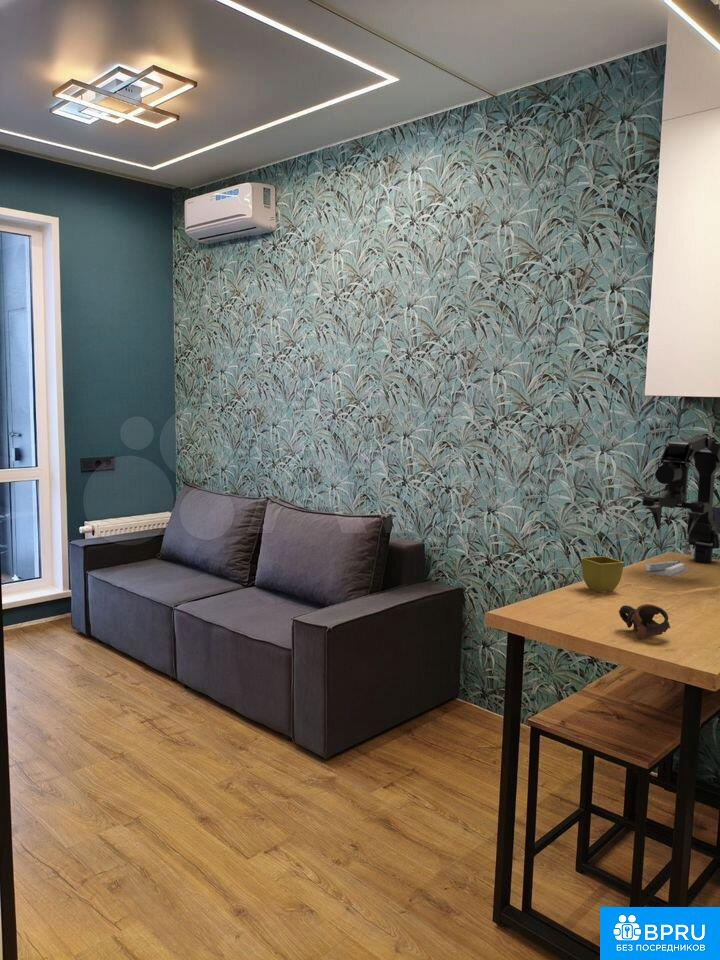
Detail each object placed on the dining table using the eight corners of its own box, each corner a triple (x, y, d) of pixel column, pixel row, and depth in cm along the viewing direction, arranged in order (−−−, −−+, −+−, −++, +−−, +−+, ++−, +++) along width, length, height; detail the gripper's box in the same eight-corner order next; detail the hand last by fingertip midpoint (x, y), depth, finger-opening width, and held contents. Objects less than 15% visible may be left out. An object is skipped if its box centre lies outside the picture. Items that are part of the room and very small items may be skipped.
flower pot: (578, 587, 219) (580, 557, 218) (601, 585, 222) (604, 555, 221) (598, 595, 211) (600, 564, 210) (622, 592, 214) (625, 562, 213)
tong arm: (676, 566, 244) (676, 560, 244) (680, 567, 243) (681, 561, 242) (645, 569, 238) (646, 563, 238) (650, 571, 236) (650, 564, 236)
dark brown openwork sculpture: (670, 634, 180) (678, 610, 175) (656, 659, 174) (663, 636, 169) (622, 612, 186) (628, 589, 181) (606, 636, 180) (612, 613, 175)
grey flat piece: (663, 567, 248) (664, 558, 248) (691, 572, 242) (691, 563, 241) (643, 575, 236) (644, 565, 236) (672, 580, 230) (672, 571, 230)
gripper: (636, 480, 231) (633, 530, 233) (699, 487, 219) (694, 539, 220) (651, 478, 239) (647, 526, 241) (712, 484, 227) (707, 535, 229)
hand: (673, 531), depth 233 cm, fingers open, 9 cm apart
